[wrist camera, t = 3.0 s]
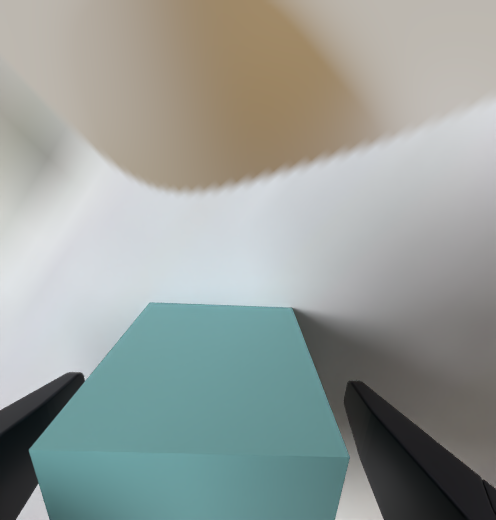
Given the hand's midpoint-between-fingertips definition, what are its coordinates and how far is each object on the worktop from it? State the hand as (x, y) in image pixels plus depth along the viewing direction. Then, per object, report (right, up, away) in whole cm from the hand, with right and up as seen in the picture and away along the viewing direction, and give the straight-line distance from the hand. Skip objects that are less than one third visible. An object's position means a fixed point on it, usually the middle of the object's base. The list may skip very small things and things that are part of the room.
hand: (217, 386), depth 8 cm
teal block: (0, 0, +1) cm, 1 cm away
